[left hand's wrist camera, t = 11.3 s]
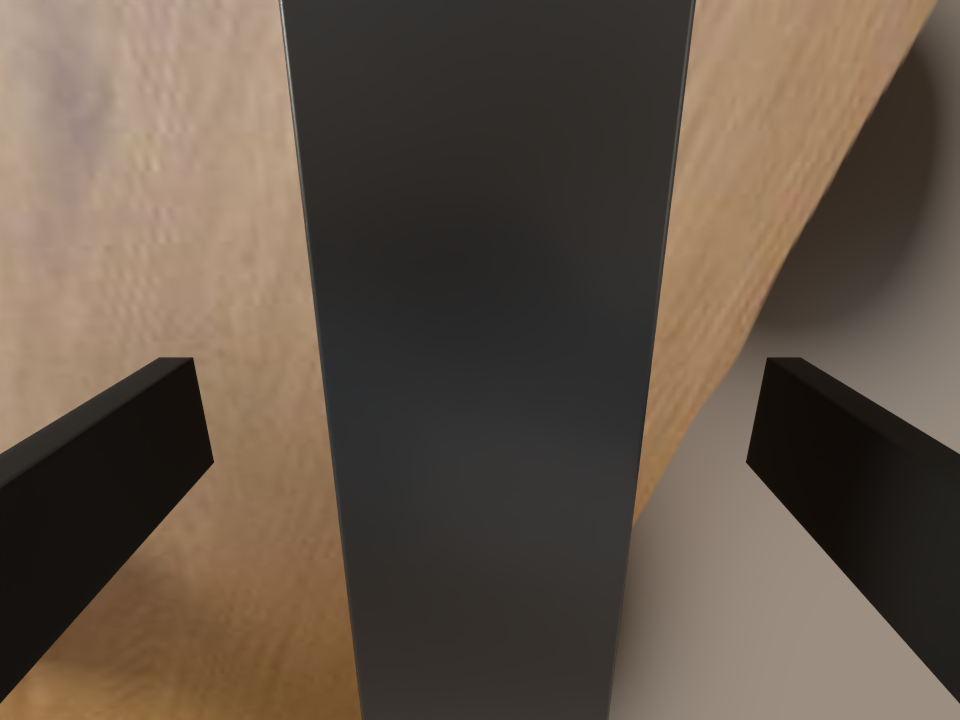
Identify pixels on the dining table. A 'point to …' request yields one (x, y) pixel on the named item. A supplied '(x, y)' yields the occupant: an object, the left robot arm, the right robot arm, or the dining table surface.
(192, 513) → the dining table surface
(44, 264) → the dining table surface
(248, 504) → the dining table surface
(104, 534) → the left robot arm
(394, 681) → the slate bar
